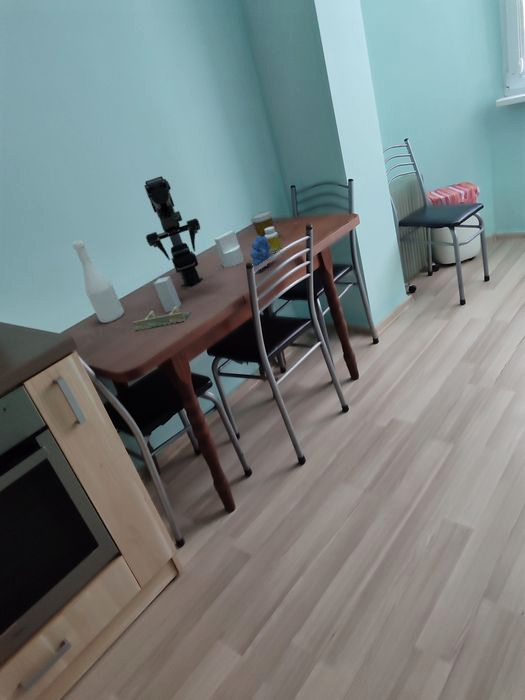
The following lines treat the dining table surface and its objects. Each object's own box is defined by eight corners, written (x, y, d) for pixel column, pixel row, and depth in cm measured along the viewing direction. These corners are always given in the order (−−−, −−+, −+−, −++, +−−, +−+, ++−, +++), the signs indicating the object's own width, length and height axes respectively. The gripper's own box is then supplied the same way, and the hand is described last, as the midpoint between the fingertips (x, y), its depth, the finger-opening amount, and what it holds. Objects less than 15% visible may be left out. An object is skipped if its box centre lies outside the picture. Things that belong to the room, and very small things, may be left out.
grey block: (169, 306, 174) (158, 278, 169) (181, 304, 173) (169, 276, 168) (165, 312, 170) (153, 283, 165) (177, 310, 169) (165, 281, 164)
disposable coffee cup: (282, 236, 213) (275, 209, 207) (271, 244, 206) (264, 217, 201) (264, 238, 218) (257, 212, 213) (253, 246, 212) (245, 219, 206)
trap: (144, 321, 168) (140, 313, 167) (191, 311, 163) (188, 303, 162) (136, 330, 163) (132, 322, 161) (184, 321, 158) (181, 313, 156)
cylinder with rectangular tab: (231, 268, 193) (222, 239, 188) (218, 266, 200) (209, 239, 194) (248, 259, 198) (239, 230, 192) (235, 258, 204) (226, 230, 199)
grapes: (264, 261, 189) (256, 232, 183) (278, 260, 185) (270, 230, 179) (247, 274, 181) (238, 243, 176) (261, 273, 177) (252, 242, 172)
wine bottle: (99, 319, 184) (62, 244, 171) (122, 309, 187) (88, 234, 173) (101, 326, 176) (63, 248, 163) (126, 315, 179) (91, 238, 165)
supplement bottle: (280, 252, 193) (274, 228, 189) (268, 255, 195) (261, 231, 191) (282, 247, 198) (276, 224, 194) (270, 250, 200) (263, 227, 195)
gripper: (136, 215, 159) (153, 259, 159) (190, 197, 161) (206, 241, 161) (142, 224, 170) (157, 266, 171) (192, 207, 172) (207, 248, 172)
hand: (182, 255), depth 168 cm, fingers open, 9 cm apart
